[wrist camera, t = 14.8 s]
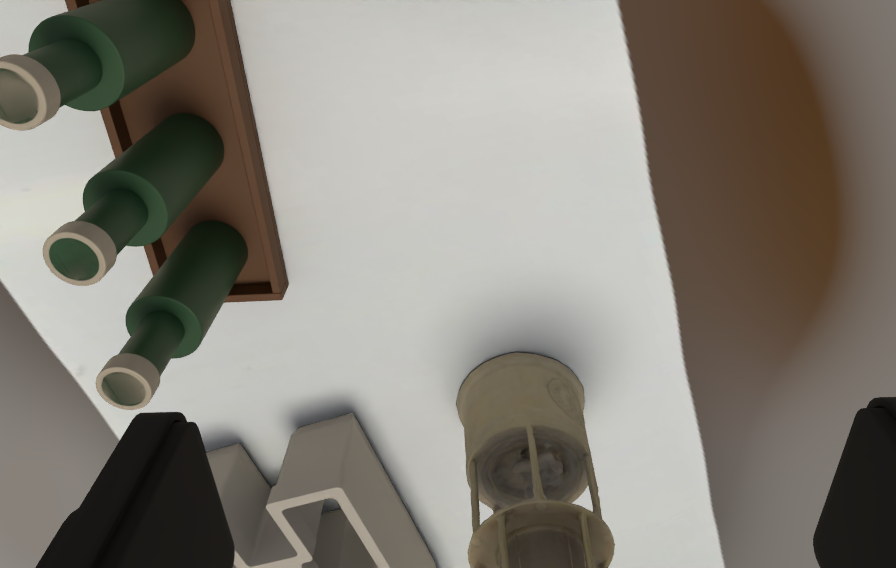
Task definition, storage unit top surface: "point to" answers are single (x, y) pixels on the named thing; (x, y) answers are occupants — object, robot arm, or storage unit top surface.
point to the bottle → (92, 58)
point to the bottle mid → (136, 197)
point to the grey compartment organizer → (317, 505)
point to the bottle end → (173, 312)
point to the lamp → (530, 467)
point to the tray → (230, 112)
